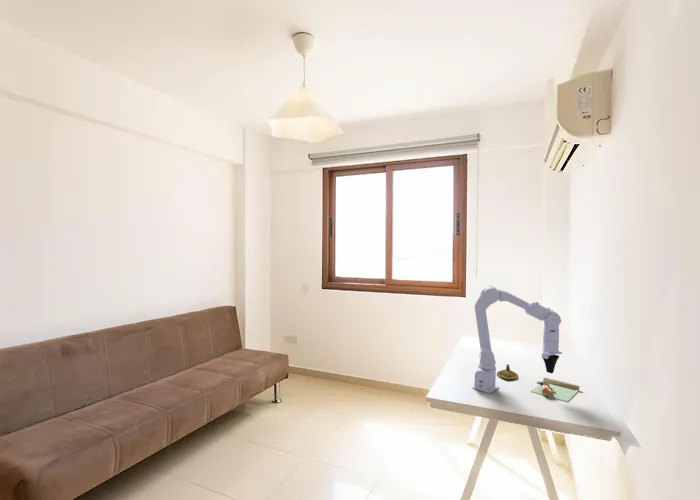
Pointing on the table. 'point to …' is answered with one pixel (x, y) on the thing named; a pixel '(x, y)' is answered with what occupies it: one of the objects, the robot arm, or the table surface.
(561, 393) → the felt mat
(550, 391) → the grandmother figurine
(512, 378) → the seal
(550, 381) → the beech stop strip
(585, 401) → the table surface
